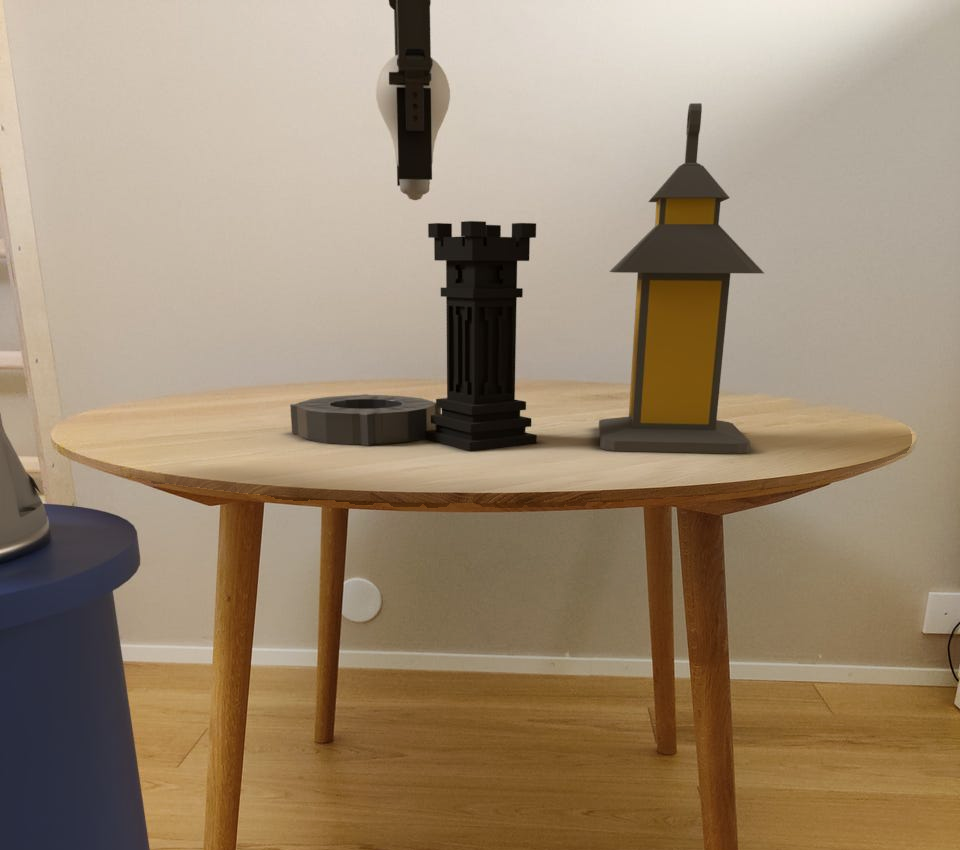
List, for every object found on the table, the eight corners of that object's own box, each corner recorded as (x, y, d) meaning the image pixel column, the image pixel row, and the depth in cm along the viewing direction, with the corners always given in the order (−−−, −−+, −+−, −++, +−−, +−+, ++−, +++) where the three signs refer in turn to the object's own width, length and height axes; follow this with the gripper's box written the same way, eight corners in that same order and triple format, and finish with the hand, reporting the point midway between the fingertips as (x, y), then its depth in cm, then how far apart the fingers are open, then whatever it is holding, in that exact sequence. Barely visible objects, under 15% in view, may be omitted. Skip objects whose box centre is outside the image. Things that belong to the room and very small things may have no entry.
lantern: (729, 430, 103) (761, 115, 92) (751, 454, 90) (791, 90, 79) (598, 427, 104) (614, 116, 93) (600, 450, 91) (619, 91, 80)
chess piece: (490, 432, 101) (492, 225, 93) (536, 443, 94) (542, 223, 87) (425, 438, 96) (422, 223, 89) (469, 451, 90) (469, 220, 83)
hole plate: (368, 449, 91) (367, 417, 89) (270, 434, 99) (268, 404, 98) (461, 431, 101) (461, 402, 100) (366, 418, 109) (365, 391, 108)
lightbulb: (453, 202, 84) (452, 59, 80) (447, 197, 79) (446, 43, 75) (384, 202, 84) (380, 59, 80) (374, 197, 79) (369, 43, 75)
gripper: (467, -208, 64) (467, 173, 73) (448, -106, 82) (450, 191, 90) (354, -214, 63) (368, 171, 72) (360, -110, 81) (370, 190, 90)
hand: (414, 181), depth 81 cm, fingers closed on lightbulb, 6 cm apart
